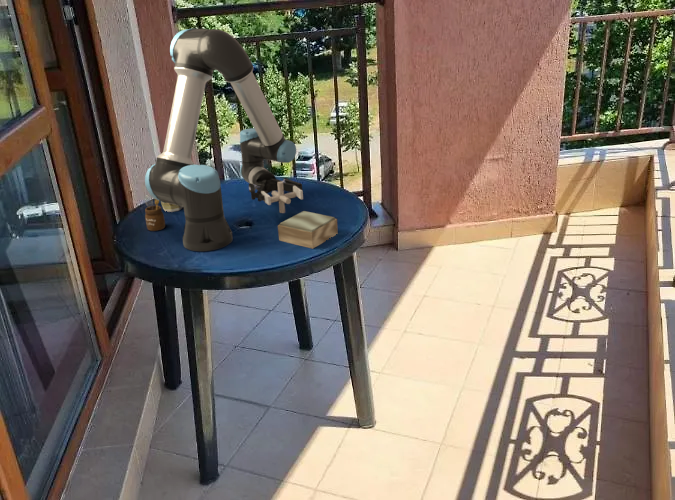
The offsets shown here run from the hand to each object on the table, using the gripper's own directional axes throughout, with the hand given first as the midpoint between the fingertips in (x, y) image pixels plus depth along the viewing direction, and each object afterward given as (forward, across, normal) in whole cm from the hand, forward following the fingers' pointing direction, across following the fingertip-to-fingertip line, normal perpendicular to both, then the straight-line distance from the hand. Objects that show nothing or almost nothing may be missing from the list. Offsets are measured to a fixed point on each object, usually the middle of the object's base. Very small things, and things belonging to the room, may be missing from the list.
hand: (285, 198), depth 201 cm
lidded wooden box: (+9, -3, -11) cm, 15 cm away
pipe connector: (-4, 0, -6) cm, 8 cm away
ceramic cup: (-39, +27, -11) cm, 49 cm away
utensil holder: (-24, +37, -11) cm, 46 cm away
